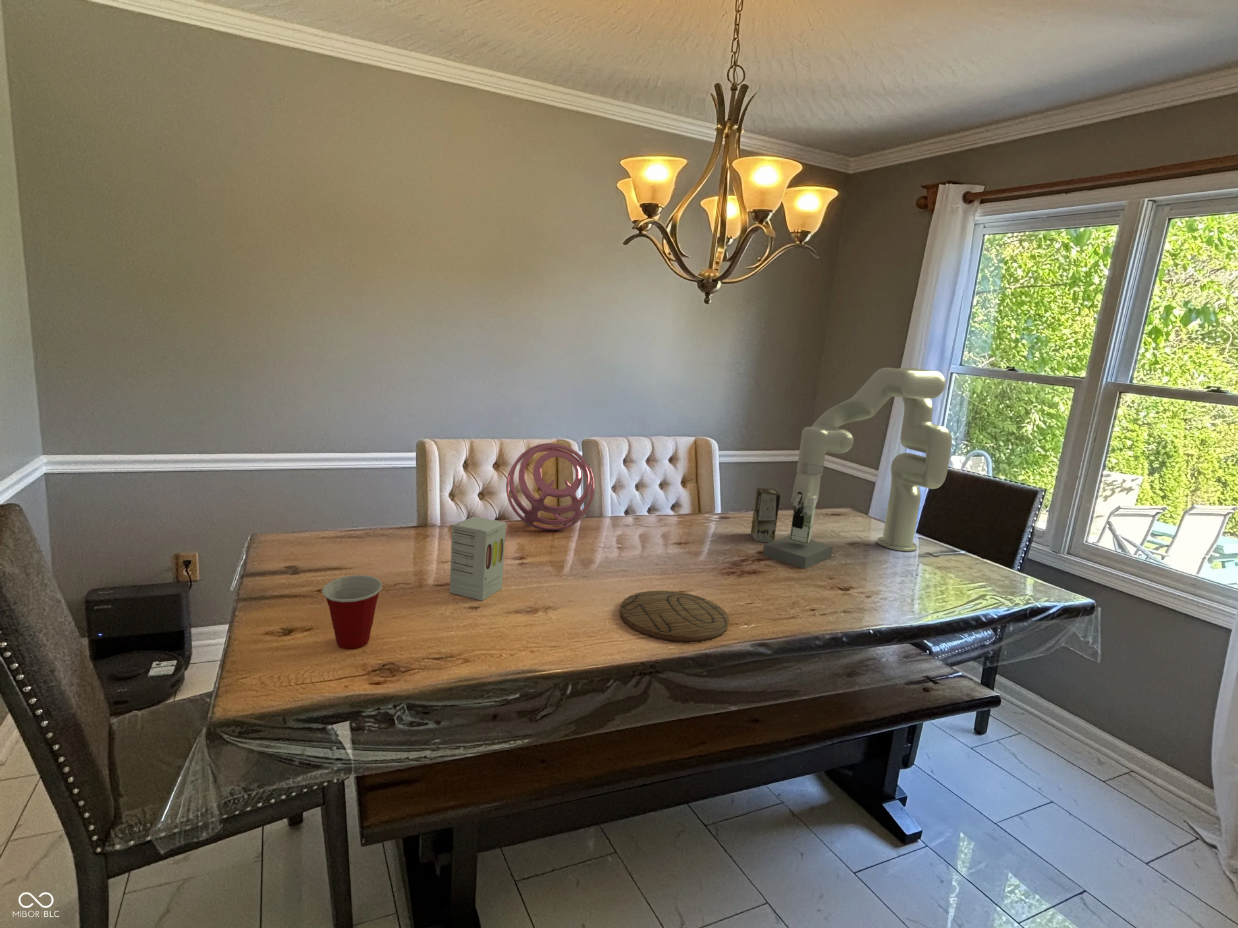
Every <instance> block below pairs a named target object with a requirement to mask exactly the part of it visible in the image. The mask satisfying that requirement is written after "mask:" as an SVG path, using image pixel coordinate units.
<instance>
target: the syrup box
mask: <svg viewBox="0 0 1238 928" xmlns="http://www.w3.org/2000/svg"><path fill="white" fill-rule="evenodd" d="M816 501H817V496H816V495H815V496H813V497H811V498H810V502H809V505H808V507H806V508H805V511H804V514H803V516H804V522H803V528H802V529H799V528H795V527H792V525H791V527H790V533H789V534H790V540H793V541H798V542H803V543H809V541H810V540H812V534H813V526H814V520H815V512H816V508H817V507H816V506H817V503H816ZM817 502H818V501H817ZM799 505H803V504H802V503H800V504H799ZM799 508H800V507H799ZM800 509H801V510H802V508H800ZM792 512H794V510H793V511H792ZM793 515H794V514H793V513H792V516H793ZM792 522H793V517H792V519H791V523H792Z"/></svg>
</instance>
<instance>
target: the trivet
mask: <svg viewBox="0 0 1238 928" xmlns="http://www.w3.org/2000/svg"><path fill="white" fill-rule="evenodd" d="M619 617H620V619H621V620H622V623H623V624H624V625H626V626H627V627H628V628H630V629H631V630H633V631H635V632H636V633H639V634H641V635H643V636H645V637H646V636H647V637H649V638H652V639H655V640H659V641H664V642H665V641H666V642H668V643H680V642H681V643H682V644H691V643H690V642H698V643H703V642H702V641H705V642H707V641H706V640H710V641H713V640H712V639H714V640H716V639H718V638H720V637H722V636H723V635H725V633H726V632H727V631H726V630H728V627H729V621H730V618H729V615H728V613H727V611H725V609H723V607H721V606H720V605H718V604H717V603H715V602H713V601H712V600H709V599H707V598H704V597H702V596H698V595H694V594H691V593H688V592H687V593H686V592H680V591H674V590H673V591H672V590H649V591H648V590H646V591H643V592H642V591H641V592H640V591H639V592H637V593H634V594H631V595H629V596H627V597H626V598H624V599H623V601H622V602H621V604H620V608H619ZM724 632H725V633H724ZM722 634H723V635H722ZM719 636H720V637H719ZM717 637H718V638H717ZM715 638H716V639H715ZM681 643H680V644H681Z"/></svg>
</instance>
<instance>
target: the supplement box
mask: <svg viewBox="0 0 1238 928" xmlns="http://www.w3.org/2000/svg"><path fill="white" fill-rule="evenodd" d="M506 523H507V522H505V521H500V520H496V519H489V518H485V517H480V516H471V517H469V518H466V519H464V520H462V521H459V522H457V523H453V524H452V525H451V549H450V551H451V552H450V568H449V569H450V571H449V572H450V574H449V575H450V576H449V593H450V594H454V595H457V596H462V597H467V598H470V599H473V600H478V601H484V600H485V599H487V598H489V597H490V596H492V595H494V594H495V593H497V592H499V591H500V590H502V589H503V576H504V559H505V557H504V556H505V541H506V529H507V528H506V525H507V524H506Z"/></svg>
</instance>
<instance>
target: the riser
mask: <svg viewBox="0 0 1238 928" xmlns="http://www.w3.org/2000/svg"><path fill="white" fill-rule="evenodd" d="M833 548H834V546H833V545H830V544H827V543H823V542H820V541H816V540H814V539H813V540H812V539H811V540H810V541H809V543H803V542H798V541H793V540H790V535H787V536H784V537H781V538H779V539H774V541H772V542H766V543H764V544H763V548H762V550H763V551H762V556H763V557H766V558H769V559H772V560H775V561H778V562H782V563H785V564H787V565H791V566H793V567H797V568H799V569H804V570H806V569H808V568H810V567H812V566H815V565H817V564H819V563H822V562H823V561H826V560H828V559H830V558H832V555H833V550H834V549H833Z"/></svg>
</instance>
